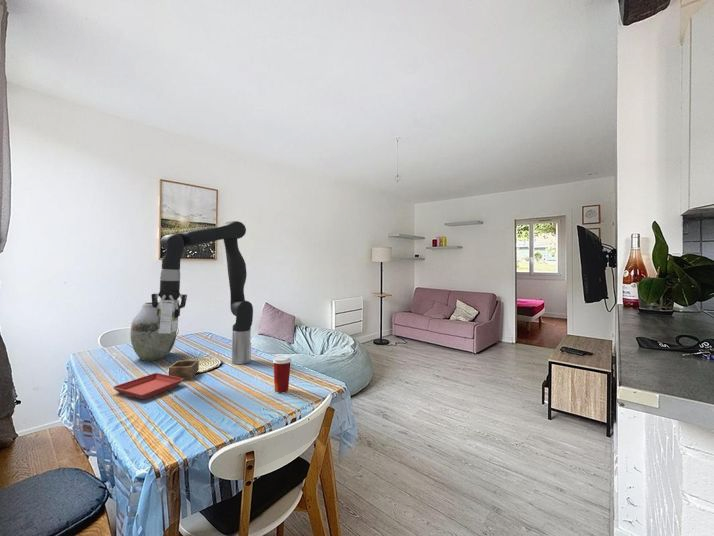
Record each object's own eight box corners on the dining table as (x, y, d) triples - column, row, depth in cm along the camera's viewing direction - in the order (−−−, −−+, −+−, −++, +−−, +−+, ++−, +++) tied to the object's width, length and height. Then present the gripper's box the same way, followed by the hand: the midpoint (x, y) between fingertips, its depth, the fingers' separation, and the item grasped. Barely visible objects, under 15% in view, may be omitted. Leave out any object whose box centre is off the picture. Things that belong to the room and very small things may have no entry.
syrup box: (164, 330, 138) (166, 298, 138) (178, 331, 138) (179, 299, 138) (157, 333, 132) (158, 299, 132) (171, 333, 133) (173, 300, 133)
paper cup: (294, 388, 132) (294, 356, 132) (284, 395, 125) (285, 361, 125) (278, 385, 135) (279, 354, 134) (268, 392, 127) (268, 359, 127)
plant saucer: (111, 394, 122) (111, 386, 122) (155, 379, 139) (156, 372, 139) (141, 403, 116) (141, 394, 116) (184, 386, 132) (184, 378, 132)
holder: (198, 371, 149) (198, 360, 149) (191, 378, 140) (191, 366, 140) (177, 372, 147) (177, 360, 147) (168, 379, 138) (168, 367, 138)
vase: (184, 356, 172) (185, 302, 171) (141, 366, 154) (142, 306, 153) (164, 349, 183) (165, 299, 183) (122, 358, 165) (123, 303, 165)
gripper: (190, 279, 140) (189, 316, 140) (156, 278, 138) (154, 315, 138) (184, 280, 133) (182, 319, 133) (148, 279, 130) (146, 318, 130)
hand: (168, 317), depth 135 cm, fingers closed on syrup box, 6 cm apart
